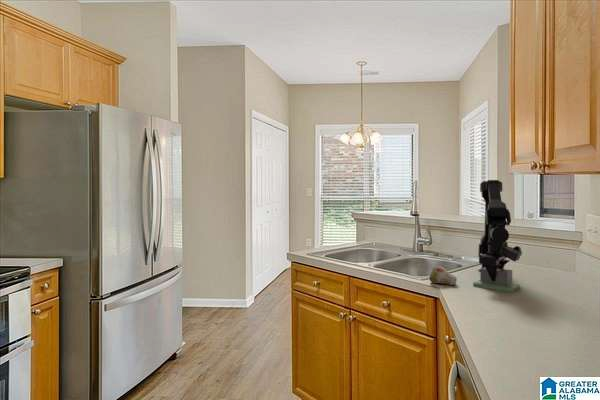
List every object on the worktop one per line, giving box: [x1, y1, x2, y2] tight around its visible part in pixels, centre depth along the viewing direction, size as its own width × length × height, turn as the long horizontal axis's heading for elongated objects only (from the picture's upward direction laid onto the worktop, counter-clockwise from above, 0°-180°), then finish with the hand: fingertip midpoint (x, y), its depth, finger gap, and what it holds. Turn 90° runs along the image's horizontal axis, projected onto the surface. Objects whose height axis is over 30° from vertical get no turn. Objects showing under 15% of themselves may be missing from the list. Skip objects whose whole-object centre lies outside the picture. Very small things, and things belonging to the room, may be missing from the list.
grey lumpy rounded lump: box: [429, 265, 457, 286], centre depth 181 cm, size 8×10×10 cm
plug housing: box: [479, 267, 513, 286], centre depth 175 cm, size 5×10×5 cm, turn 46°
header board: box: [472, 279, 521, 293], centre depth 175 cm, size 9×14×4 cm, turn 46°
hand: (496, 279), depth 175 cm, fingers closed on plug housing, 5 cm apart
